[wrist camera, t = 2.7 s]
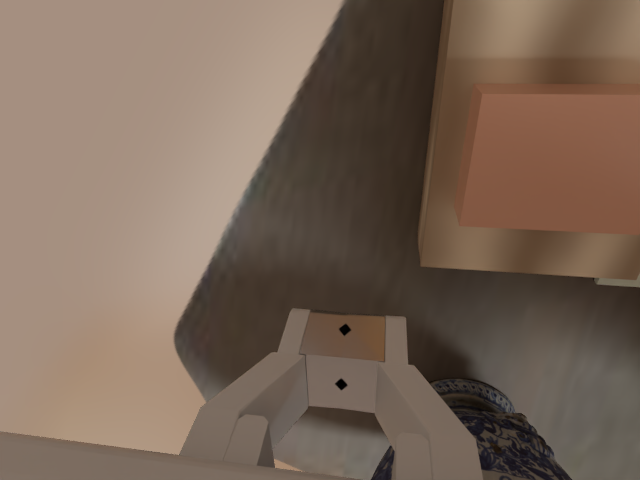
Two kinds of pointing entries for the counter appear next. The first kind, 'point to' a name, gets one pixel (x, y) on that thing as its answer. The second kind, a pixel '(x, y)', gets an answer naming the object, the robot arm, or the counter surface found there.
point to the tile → (552, 158)
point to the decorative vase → (492, 435)
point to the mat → (618, 282)
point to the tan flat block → (521, 68)
